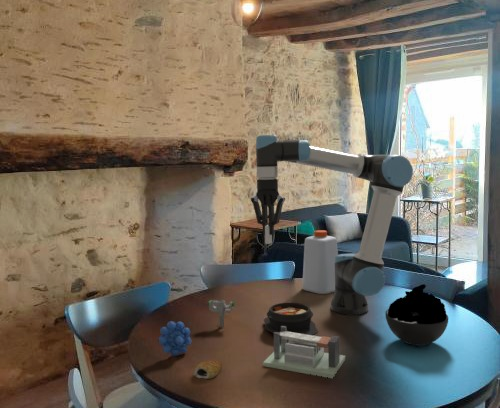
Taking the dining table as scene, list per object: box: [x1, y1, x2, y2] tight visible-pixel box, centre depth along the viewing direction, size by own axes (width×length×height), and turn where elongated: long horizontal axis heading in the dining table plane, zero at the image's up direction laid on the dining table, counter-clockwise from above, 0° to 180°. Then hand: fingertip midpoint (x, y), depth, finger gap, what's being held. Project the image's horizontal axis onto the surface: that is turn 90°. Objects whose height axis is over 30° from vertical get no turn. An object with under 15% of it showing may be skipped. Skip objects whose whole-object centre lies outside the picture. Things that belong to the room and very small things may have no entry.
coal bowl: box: [385, 283, 449, 346], centre depth 163 cm, size 20×20×19 cm
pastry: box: [193, 359, 222, 380], centre depth 146 cm, size 9×7×4 cm
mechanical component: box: [206, 299, 236, 329], centre depth 184 cm, size 3×10×10 cm, turn 78°
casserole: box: [263, 302, 319, 336], centre depth 179 cm, size 25×19×8 cm
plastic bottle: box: [301, 229, 339, 295], centre depth 229 cm, size 15×15×28 cm
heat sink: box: [273, 326, 341, 369], centre depth 151 cm, size 19×11×8 cm, turn 65°
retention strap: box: [280, 330, 332, 349], centre depth 151 cm, size 17×6×1 cm, turn 65°
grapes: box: [158, 320, 192, 357], centre depth 158 cm, size 12×7×12 cm, turn 126°
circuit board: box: [262, 345, 346, 379], centre depth 151 cm, size 22×14×1 cm, turn 65°
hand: (268, 243), depth 177 cm, fingers closed
